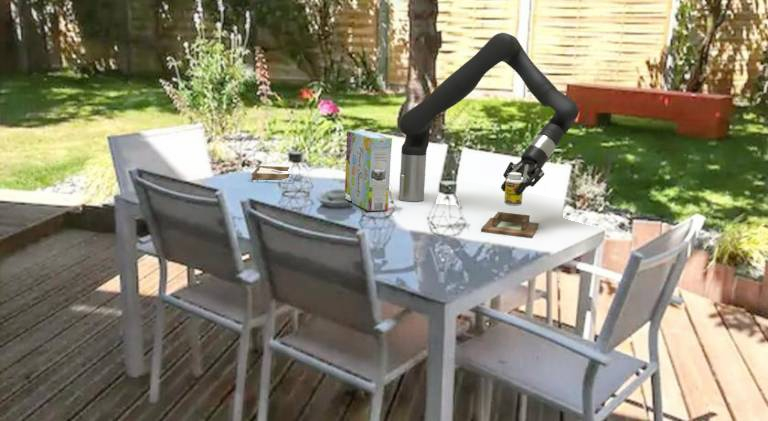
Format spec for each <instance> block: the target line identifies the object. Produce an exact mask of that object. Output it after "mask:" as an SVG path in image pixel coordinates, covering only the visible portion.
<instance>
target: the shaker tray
mask: <svg viewBox="0 0 768 421" xmlns="http://www.w3.org/2000/svg"><path fill="white" fill-rule="evenodd" d="M260 167H262V168H268V169H275V170H278V171H288V169H289V167H290V166H274V165H273V166H271V165H269V166H268V165H258V166H257V167H256V169H255V170H254V171H253V172H252V175H251V178H252V179H251V181H252V180H257V181H258V180H282V179H285V178H288V177H289V175H290V174H271V173H257V171H259V169H260Z"/></svg>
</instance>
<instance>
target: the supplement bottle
mask: <svg viewBox="0 0 768 421" xmlns="http://www.w3.org/2000/svg"><path fill="white" fill-rule="evenodd" d="M521 175H522V174H521V173H517V172H510V173H509V178H508V179H505V180H506V186H505V191H504V199H503V201H504V202H503V203H504V204H505V205H506V206H511V207H519V206H521V205H522V204H523V203H522V202H523V193H522V194H520V195H517V194H516V193H515V190H516V189H517V187H518V186H519V184H520V183H521V182H522V181H523V178H522V177H521ZM522 183H523V182H522Z"/></svg>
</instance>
